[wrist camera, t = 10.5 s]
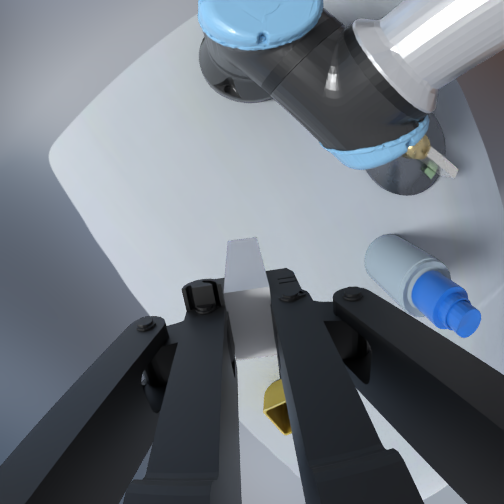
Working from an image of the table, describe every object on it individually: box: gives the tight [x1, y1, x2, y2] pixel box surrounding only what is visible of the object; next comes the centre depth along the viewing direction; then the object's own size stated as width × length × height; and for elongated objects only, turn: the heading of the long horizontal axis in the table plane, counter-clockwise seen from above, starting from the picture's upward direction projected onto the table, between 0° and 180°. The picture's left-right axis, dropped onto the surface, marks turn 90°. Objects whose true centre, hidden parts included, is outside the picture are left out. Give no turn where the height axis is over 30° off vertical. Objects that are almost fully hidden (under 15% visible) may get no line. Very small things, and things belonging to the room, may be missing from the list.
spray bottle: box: [365, 234, 481, 338], centre depth 42 cm, size 9×9×25 cm
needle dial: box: [402, 135, 459, 179], centre depth 46 cm, size 11×4×5 cm, turn 64°
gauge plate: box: [366, 113, 445, 196], centre depth 48 cm, size 17×17×1 cm
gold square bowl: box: [263, 379, 292, 435], centre depth 57 cm, size 9×9×9 cm
